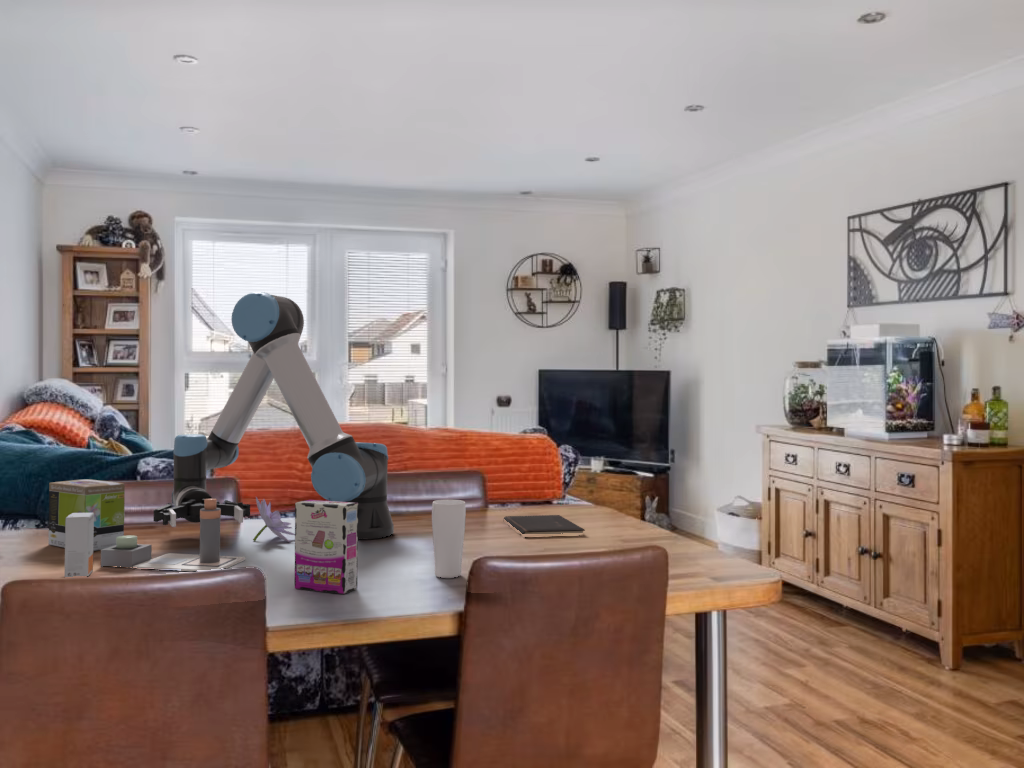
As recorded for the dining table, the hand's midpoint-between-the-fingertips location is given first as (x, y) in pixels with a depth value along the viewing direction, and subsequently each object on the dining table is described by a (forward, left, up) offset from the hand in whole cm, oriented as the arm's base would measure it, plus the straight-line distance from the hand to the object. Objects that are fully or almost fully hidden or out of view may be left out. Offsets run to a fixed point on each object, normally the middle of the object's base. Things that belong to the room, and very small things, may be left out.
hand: (208, 518), depth 183 cm
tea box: (+35, -10, -10) cm, 38 cm away
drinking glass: (-53, +1, -9) cm, 53 cm away
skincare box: (+18, +16, -9) cm, 26 cm away
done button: (+15, +5, -6) cm, 17 cm away
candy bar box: (-33, +16, -9) cm, 38 cm away
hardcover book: (-65, -56, -10) cm, 86 cm away
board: (+2, +3, -9) cm, 10 cm away
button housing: (+15, +5, -9) cm, 19 cm away
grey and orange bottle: (-2, +2, -9) cm, 9 cm away
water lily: (-4, -26, -10) cm, 28 cm away
